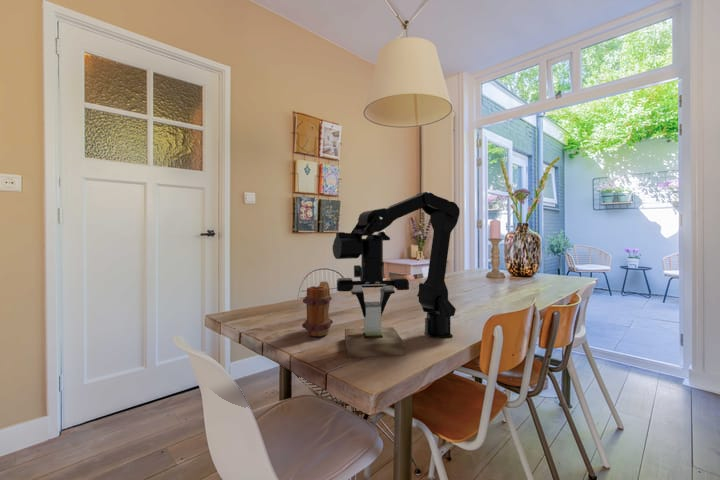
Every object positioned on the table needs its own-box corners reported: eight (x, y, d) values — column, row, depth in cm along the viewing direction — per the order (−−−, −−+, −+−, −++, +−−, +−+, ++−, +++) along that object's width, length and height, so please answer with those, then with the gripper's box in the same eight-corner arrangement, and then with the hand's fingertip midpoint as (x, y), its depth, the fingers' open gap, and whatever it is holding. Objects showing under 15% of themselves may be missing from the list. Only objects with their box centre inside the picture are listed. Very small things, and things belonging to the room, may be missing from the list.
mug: (325, 340, 92) (325, 287, 92) (298, 338, 94) (298, 286, 94) (339, 326, 107) (339, 280, 107) (315, 325, 108) (315, 279, 108)
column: (378, 330, 89) (378, 301, 89) (381, 335, 85) (381, 304, 85) (364, 331, 89) (363, 302, 89) (365, 335, 85) (365, 305, 85)
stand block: (392, 337, 95) (392, 325, 95) (404, 354, 81) (404, 340, 81) (344, 339, 93) (344, 327, 93) (348, 357, 79) (348, 343, 79)
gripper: (399, 255, 96) (399, 308, 96) (335, 256, 94) (336, 310, 94) (409, 258, 85) (409, 318, 85) (337, 259, 83) (337, 320, 83)
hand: (372, 316), depth 87 cm, fingers closed on column, 4 cm apart
